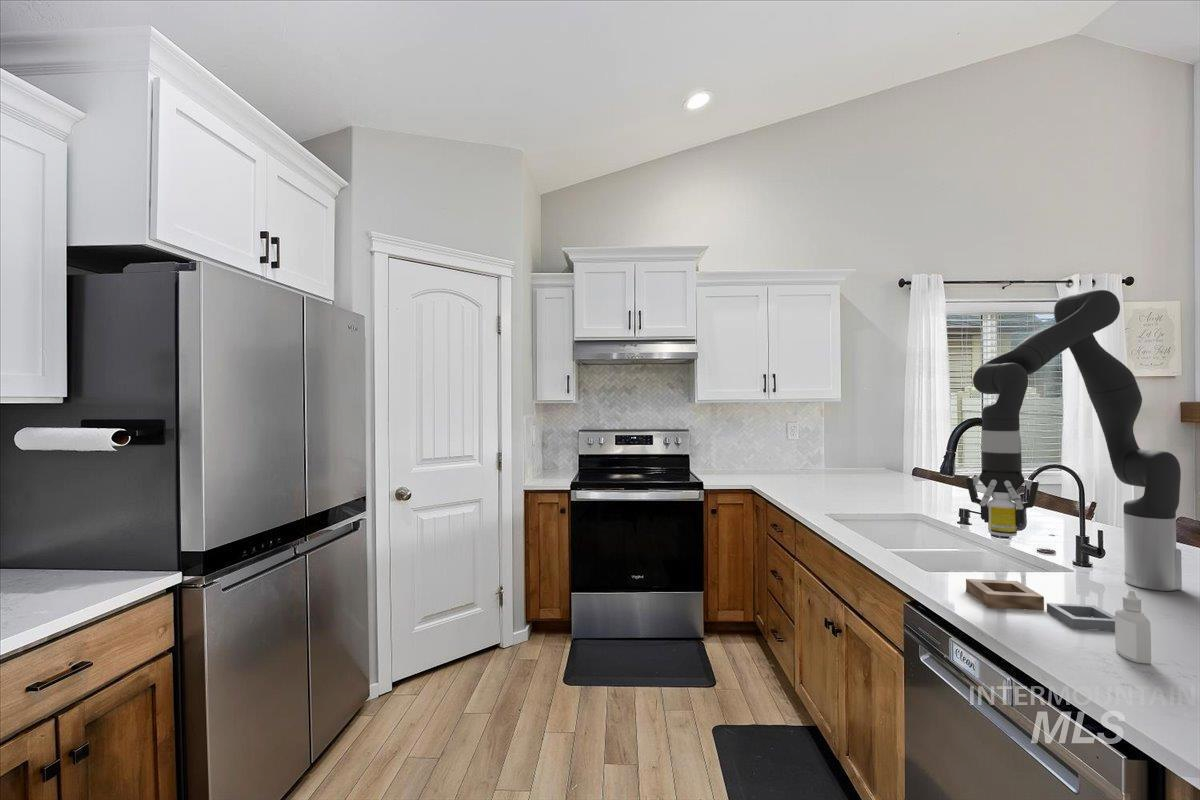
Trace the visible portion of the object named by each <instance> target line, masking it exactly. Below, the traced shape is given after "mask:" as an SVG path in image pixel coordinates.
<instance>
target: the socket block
mask: <svg viewBox="0 0 1200 800" xmlns="http://www.w3.org/2000/svg"><path fill="white" fill-rule="evenodd" d="M965 592H966V593H968V594H969V595H971V596H972V597H973V598H975V599H976V600H977V601H979V602H980V603H981V604H983V605H984V606H985V607H987V608H989V609H1005V608H1006V609H1007V610H1009V609H1010V610H1024V609H1026V610H1027V611H1028V610H1029V611H1043V612H1044V611H1045V596H1043V595H1042V594H1040V593H1038V592H1037V591H1035V590H1034V589H1031V588H1030V587H1028V586H1026V585H1025V584H1023V583H1021V582H1019V580H1005V579H1004V580H1001V579H981V578H980V579H979V578H978V579H977V578H976V579H975V578H965Z"/></svg>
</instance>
